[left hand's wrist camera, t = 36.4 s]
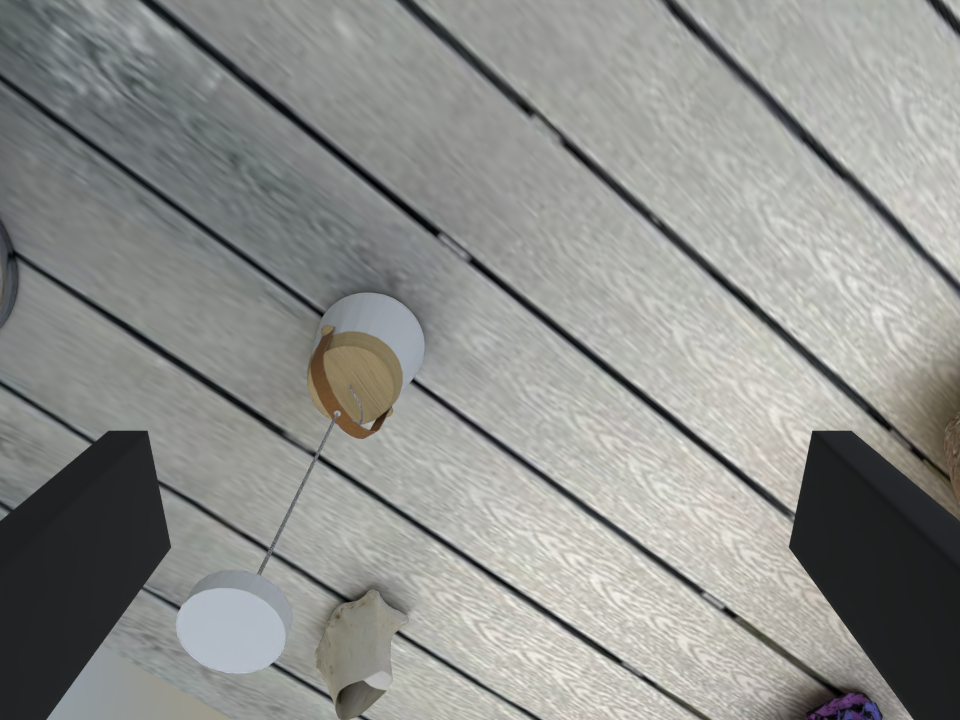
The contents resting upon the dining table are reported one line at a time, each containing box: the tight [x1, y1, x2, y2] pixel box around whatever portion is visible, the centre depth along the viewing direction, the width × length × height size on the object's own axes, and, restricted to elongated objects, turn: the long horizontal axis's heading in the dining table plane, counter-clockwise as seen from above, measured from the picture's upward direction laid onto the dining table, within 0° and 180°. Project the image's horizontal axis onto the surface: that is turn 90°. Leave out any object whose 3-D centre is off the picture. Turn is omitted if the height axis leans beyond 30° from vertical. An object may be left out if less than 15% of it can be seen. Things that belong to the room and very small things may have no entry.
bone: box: [315, 589, 409, 720], centre depth 55 cm, size 9×8×10 cm
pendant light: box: [176, 293, 425, 674], centre depth 35 cm, size 8×8×30 cm
